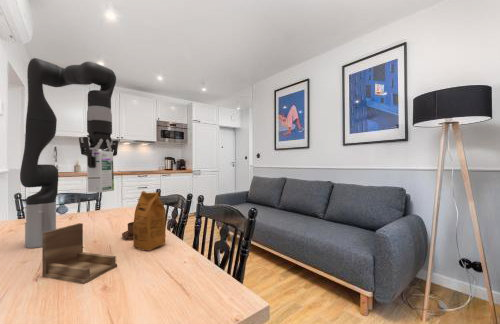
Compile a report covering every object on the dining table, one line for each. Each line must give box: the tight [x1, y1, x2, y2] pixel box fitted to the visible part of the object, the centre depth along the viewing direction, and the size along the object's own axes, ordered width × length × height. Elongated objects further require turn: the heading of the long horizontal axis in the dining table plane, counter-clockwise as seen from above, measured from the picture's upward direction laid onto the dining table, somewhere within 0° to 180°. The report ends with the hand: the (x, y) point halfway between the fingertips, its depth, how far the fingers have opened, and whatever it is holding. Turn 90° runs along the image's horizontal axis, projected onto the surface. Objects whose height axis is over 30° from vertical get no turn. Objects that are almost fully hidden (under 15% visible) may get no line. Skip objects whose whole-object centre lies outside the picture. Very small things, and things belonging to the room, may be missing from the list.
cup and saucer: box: [121, 221, 134, 240], centre depth 104 cm, size 12×12×6 cm
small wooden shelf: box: [41, 222, 118, 285], centre depth 70 cm, size 16×11×13 cm
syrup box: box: [86, 150, 115, 193], centre depth 81 cm, size 6×6×14 cm
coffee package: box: [132, 190, 167, 251], centre depth 92 cm, size 10×12×22 cm
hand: (100, 167), depth 81 cm, fingers closed on syrup box, 6 cm apart
